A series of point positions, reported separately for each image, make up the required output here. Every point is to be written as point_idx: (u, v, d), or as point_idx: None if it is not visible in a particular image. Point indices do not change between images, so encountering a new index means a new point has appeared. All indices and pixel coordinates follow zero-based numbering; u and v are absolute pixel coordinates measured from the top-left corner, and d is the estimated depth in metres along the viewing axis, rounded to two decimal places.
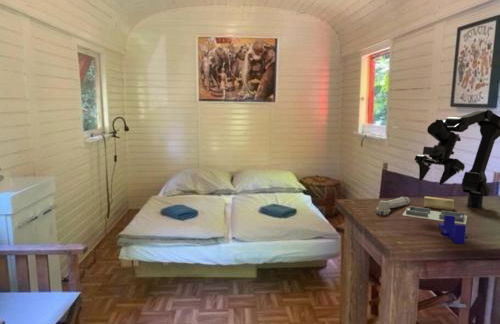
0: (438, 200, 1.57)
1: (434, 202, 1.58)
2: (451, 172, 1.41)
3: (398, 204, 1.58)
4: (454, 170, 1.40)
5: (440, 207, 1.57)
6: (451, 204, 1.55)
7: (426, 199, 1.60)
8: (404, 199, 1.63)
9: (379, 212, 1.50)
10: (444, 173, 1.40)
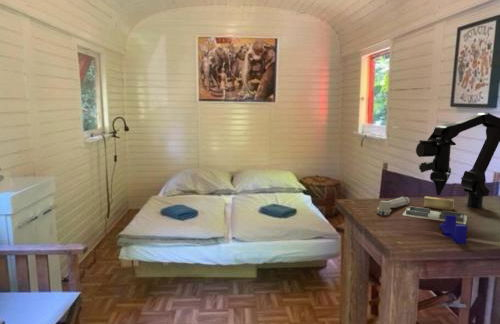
0: (438, 200, 1.57)
1: (434, 202, 1.58)
2: (442, 182, 1.51)
3: (398, 204, 1.58)
4: (440, 181, 1.51)
5: (440, 207, 1.57)
6: (451, 204, 1.55)
7: (426, 199, 1.60)
8: (404, 199, 1.63)
9: (380, 212, 1.50)
10: (435, 185, 1.54)
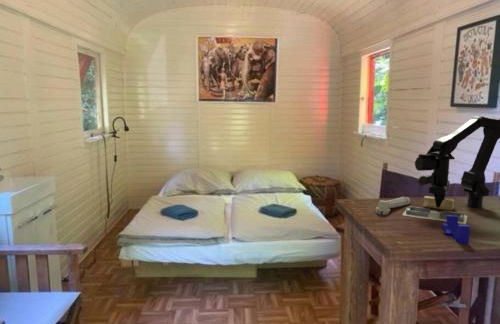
0: None
1: (434, 202, 1.58)
2: (441, 195, 1.55)
3: (398, 204, 1.58)
4: (439, 193, 1.54)
5: (440, 207, 1.57)
6: (451, 204, 1.55)
7: (426, 199, 1.60)
8: (404, 199, 1.63)
9: (379, 212, 1.51)
10: None
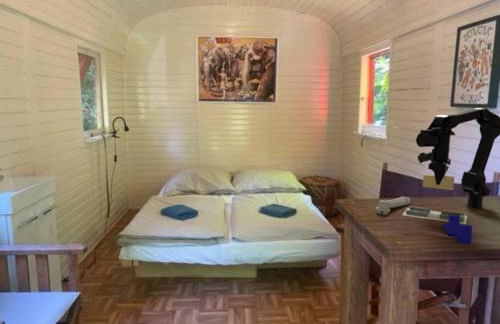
0: None
1: (434, 179, 1.54)
2: (441, 172, 1.50)
3: (398, 204, 1.58)
4: (439, 170, 1.49)
5: (440, 184, 1.53)
6: (451, 181, 1.50)
7: (426, 176, 1.55)
8: (405, 199, 1.63)
9: (379, 212, 1.51)
10: None
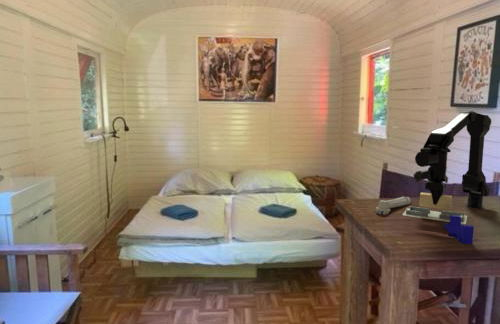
0: None
1: (431, 199, 1.47)
2: (438, 191, 1.43)
3: (398, 204, 1.58)
4: None
5: (437, 204, 1.46)
6: (449, 201, 1.43)
7: (422, 195, 1.48)
8: (405, 199, 1.63)
9: (379, 212, 1.51)
10: None
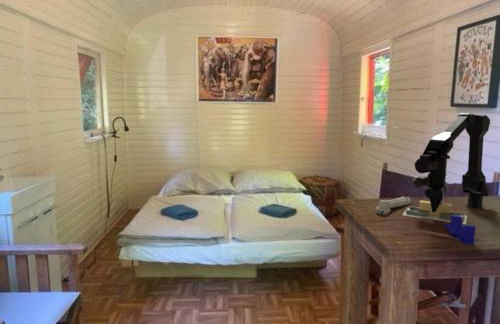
0: None
1: (430, 207, 1.47)
2: (437, 199, 1.42)
3: (398, 204, 1.58)
4: (435, 197, 1.41)
5: (436, 212, 1.46)
6: (448, 209, 1.44)
7: (421, 203, 1.49)
8: (405, 199, 1.63)
9: (379, 211, 1.51)
10: None
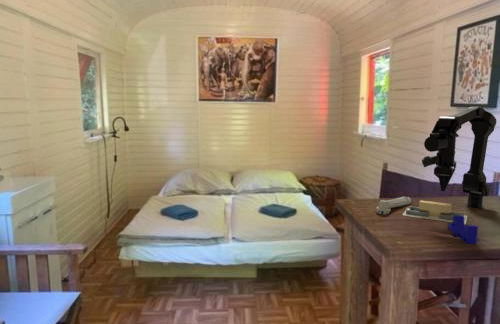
0: (434, 204, 1.46)
1: (430, 207, 1.47)
2: (446, 177, 1.41)
3: (398, 204, 1.58)
4: None
5: (436, 212, 1.46)
6: (448, 209, 1.44)
7: (421, 203, 1.49)
8: (405, 199, 1.63)
9: (379, 211, 1.51)
10: None
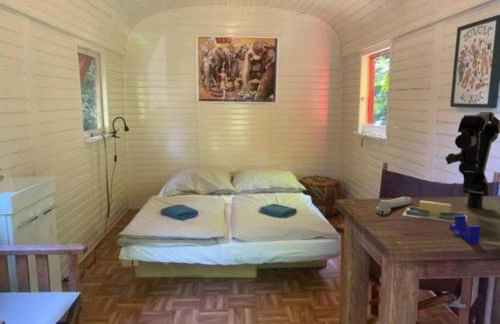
0: (434, 204, 1.46)
1: (430, 207, 1.47)
2: (471, 174, 1.44)
3: (398, 204, 1.58)
4: (469, 172, 1.43)
5: (436, 212, 1.46)
6: (448, 209, 1.44)
7: (421, 203, 1.49)
8: (405, 199, 1.63)
9: (379, 211, 1.51)
10: None
